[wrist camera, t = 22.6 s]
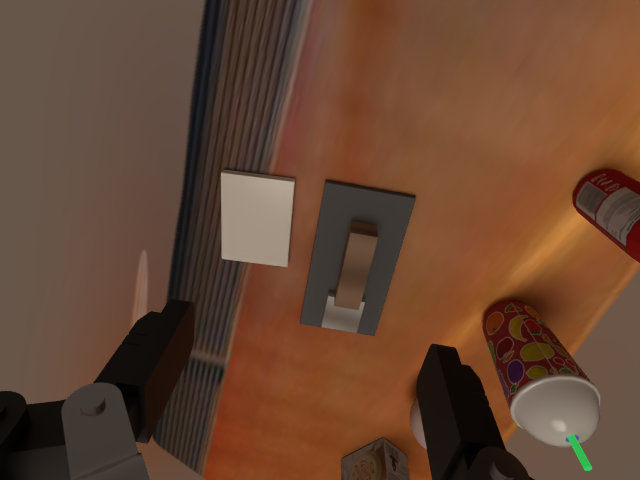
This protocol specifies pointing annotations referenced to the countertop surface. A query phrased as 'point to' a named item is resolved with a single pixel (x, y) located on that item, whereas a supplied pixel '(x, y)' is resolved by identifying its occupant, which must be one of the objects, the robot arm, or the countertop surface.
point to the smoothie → (541, 378)
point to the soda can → (612, 207)
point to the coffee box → (375, 463)
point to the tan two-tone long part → (351, 279)
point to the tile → (256, 217)
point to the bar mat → (331, 239)
